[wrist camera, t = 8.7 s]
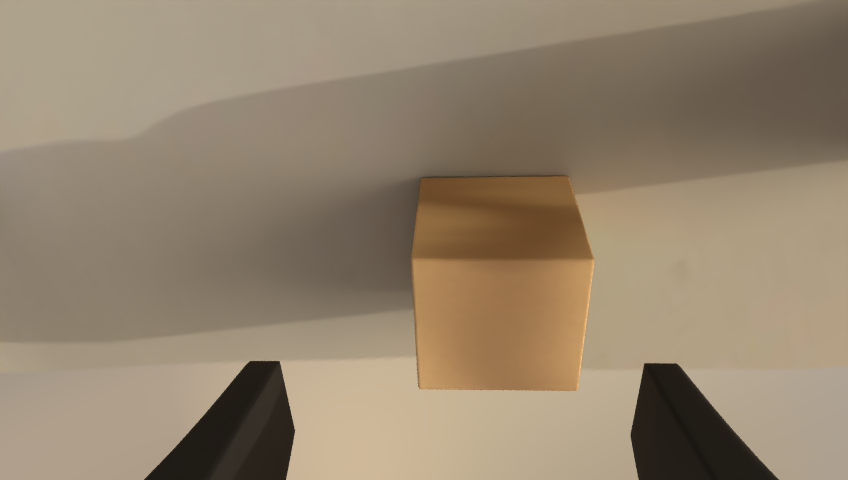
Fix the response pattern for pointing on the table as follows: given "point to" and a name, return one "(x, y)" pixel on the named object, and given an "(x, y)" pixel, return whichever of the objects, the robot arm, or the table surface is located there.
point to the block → (500, 283)
